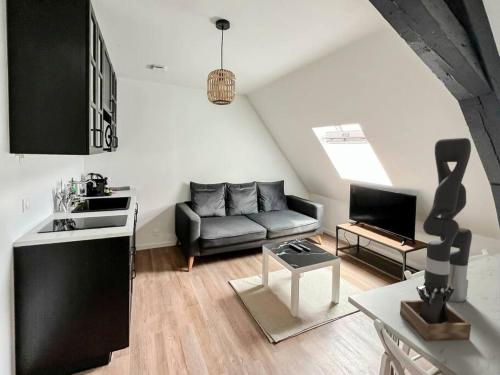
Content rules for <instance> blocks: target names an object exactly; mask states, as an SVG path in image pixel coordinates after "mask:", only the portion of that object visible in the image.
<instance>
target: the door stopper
mask: <svg viewBox="0 0 500 375" xmlns="http://www.w3.org/2000/svg"><path fill="white" fill-rule="evenodd" d="M426 292H427V291H426V290H425V293H426ZM427 293H428V292H427ZM428 294H429V293H428ZM425 295H426V294H425ZM429 295H430V294H429ZM427 299H429V297H428V298H427ZM446 299H447V295H446V294H444V293H442V294H441V293H439V292H436V295H435V299H433V302H432V304H429V307H428V306H427V303H425V302H424V301H423V305H422V308H421V311H420V314H419V316H420V317H421V318H422V319H423V320H424V321H425V322H426V323H428V324H442V323H444V322H446V321H448V311H447V306H448V305H447V304H448V302H446Z"/></svg>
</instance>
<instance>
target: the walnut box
mask: <svg viewBox="0 0 500 375" xmlns="http://www.w3.org/2000/svg"><path fill="white" fill-rule="evenodd" d="M422 305H423V300H421V299H414V300H413V299H411V300H410V299H409V300H408V299H407V300H406V299H405V300H400V304H399V306H400V309H399V315H400V316H401V317H402V318H403V319H404V320H405V321H406V322H407V323H408V324H409V325H410V326H411V327H412V328H413V330H414V331H416V332H417V334H418V335H419V336H421V338H422V340H425V341H426V342H438V341H439V342H443V341H445V342H446V341H467V340H470V339H471V338H470V337H471V329H472V324H471V323H470V322H469V321H467V320H466V319H465V318H464V317H462V316H461V315H460V314H458V313H457V312H456V311H454V310H453V309H452V308H450V307H449V306H448V305H447V311H448V321H446V322H444V323H442V324H428V323H426V322H425V321H424V320H423V319H422V318H421V317H420V316H419V314H420V311H421V308H422Z"/></svg>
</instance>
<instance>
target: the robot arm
mask: <svg viewBox="0 0 500 375" xmlns="http://www.w3.org/2000/svg"><path fill="white" fill-rule="evenodd" d="M471 152H472V143H471V140H470V139H469V138H468V137H459V138H458V137H457V138H442V139H438V140H437V141H435V144H434V159H435V165H436V171H437V184H438V185H437V187H436V188H435V192H434V198H433V201H432V202H433V203H432V207H431V208H430V210H429V211H430V212H429V213H428V214H427V216H426V218H425V219H424V222H423V225H422V229H423V231H424V233H425V234H426V235H428V236H432V237H433V236H434V237H439V238H440V239H439V240H432V241H429V242H428V243H427V247H426V257H425V258H426V259H425V263H424V264H425V265H424V273H423V274H424V276H423V278H424V283H423V284H422V285H421V286H419V285H417V286H416V287H415V289H416V291H417V294H418V296H419V298H420V300H423V301H424V302H425V303H427V306H428V307H429V304H432V302H433V299H435V295H436V292H439V293H441V294H442V293H444V294H446V295H447V299H446V303H449V301H450V302H454V303H462V302H464V301H467V298H468V297H467V296H468V290H469V289H468V287H469V279H467V277H468V268H469V266H468V265H469V258H470V252H471V251H470V250H471V245H472V238H473V233H472V231H471V230H470V229H469V228H464V227H460V225H459V224H458V222H457V221H456V220H455V219H454V218H456V216H457V215H458V214H460V213H461V211H462V210H463V209H464V208H465V206H466V204H467V189H466V187H465V185H464V184H463V183H462V182H463V178H464V176H465V173H466V170H467V167H468V163H469V161H470V158H471ZM448 163H456V164H455V166H454V168H453V169H452V170H451V168H450V167H449V164H448ZM439 216H440V217H439ZM452 248H456V249H459V250H458V251H451V250H452ZM426 291H427V292H428V293H429V294H430V295H429V294H428V293H427V292H426ZM425 294H426V295H425ZM428 297H429V299H427V298H428Z"/></svg>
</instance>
